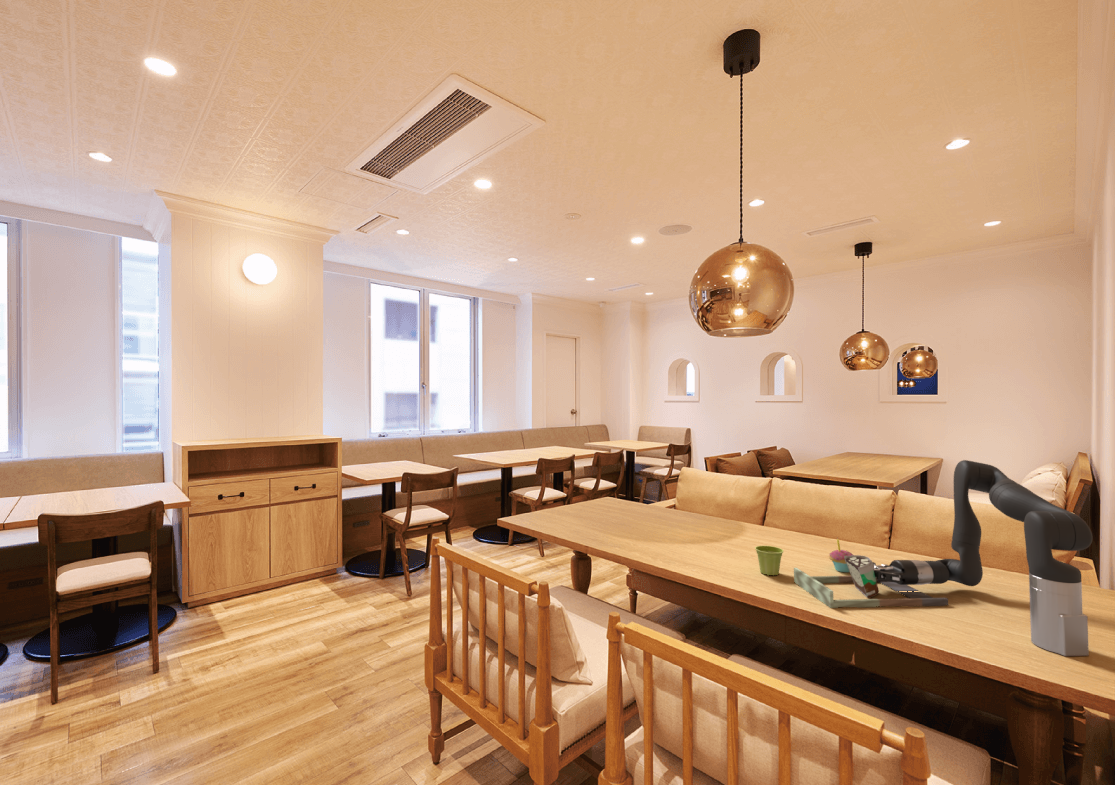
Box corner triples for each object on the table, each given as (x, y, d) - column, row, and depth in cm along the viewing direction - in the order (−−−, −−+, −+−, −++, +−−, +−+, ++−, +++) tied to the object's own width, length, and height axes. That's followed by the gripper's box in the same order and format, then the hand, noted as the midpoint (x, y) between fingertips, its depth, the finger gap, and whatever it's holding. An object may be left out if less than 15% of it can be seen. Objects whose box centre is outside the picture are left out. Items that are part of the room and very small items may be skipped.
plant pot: (757, 567, 183) (757, 544, 183) (785, 571, 178) (784, 547, 178) (753, 575, 175) (752, 550, 175) (782, 579, 170) (781, 554, 170)
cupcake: (842, 575, 174) (841, 541, 174) (823, 567, 182) (823, 535, 183) (862, 572, 176) (861, 539, 177) (842, 565, 184) (841, 533, 185)
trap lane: (948, 605, 147) (947, 588, 147) (830, 608, 146) (829, 591, 146) (897, 580, 168) (897, 565, 168) (794, 582, 167) (793, 567, 167)
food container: (890, 595, 151) (879, 563, 152) (869, 599, 152) (858, 568, 153) (873, 581, 163) (862, 551, 164) (853, 585, 164) (843, 556, 165)
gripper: (896, 554, 165) (845, 554, 164) (926, 567, 151) (871, 567, 151) (896, 576, 164) (845, 576, 164) (927, 591, 151) (871, 592, 151)
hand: (858, 572), depth 158 cm, fingers closed
